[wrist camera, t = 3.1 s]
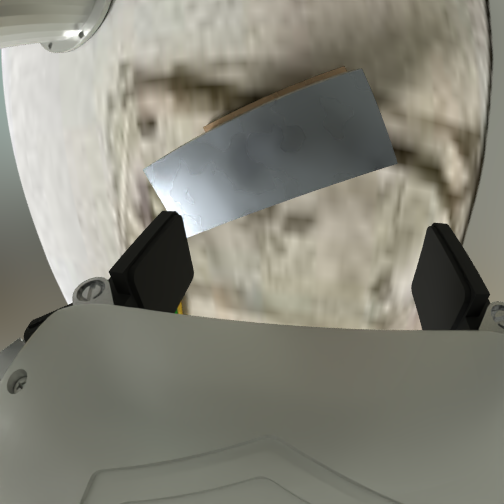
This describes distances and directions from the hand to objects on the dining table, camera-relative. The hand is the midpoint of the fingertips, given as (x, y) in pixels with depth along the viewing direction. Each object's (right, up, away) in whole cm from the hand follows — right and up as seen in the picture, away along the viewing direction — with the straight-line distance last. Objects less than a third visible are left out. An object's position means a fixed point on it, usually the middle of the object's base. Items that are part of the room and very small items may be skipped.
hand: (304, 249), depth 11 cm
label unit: (+1, +12, +14) cm, 18 cm away
